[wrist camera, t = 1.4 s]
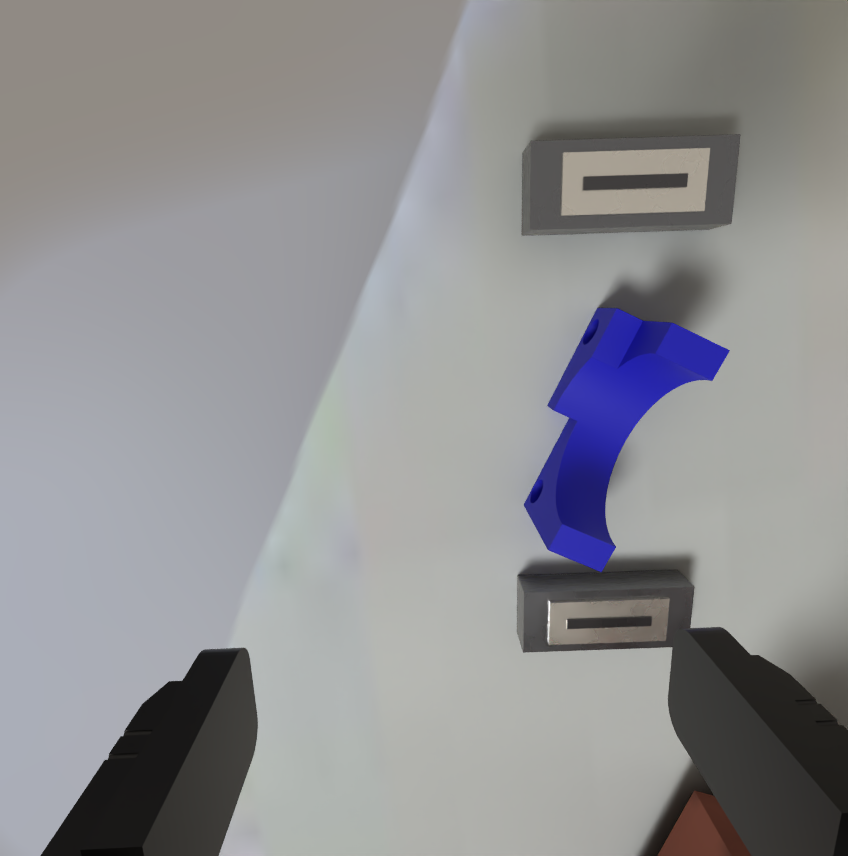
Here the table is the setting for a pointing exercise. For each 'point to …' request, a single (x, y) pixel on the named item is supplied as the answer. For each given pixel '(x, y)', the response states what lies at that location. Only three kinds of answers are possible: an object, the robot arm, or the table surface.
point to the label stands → (611, 213)
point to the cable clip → (607, 421)
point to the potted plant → (703, 831)
